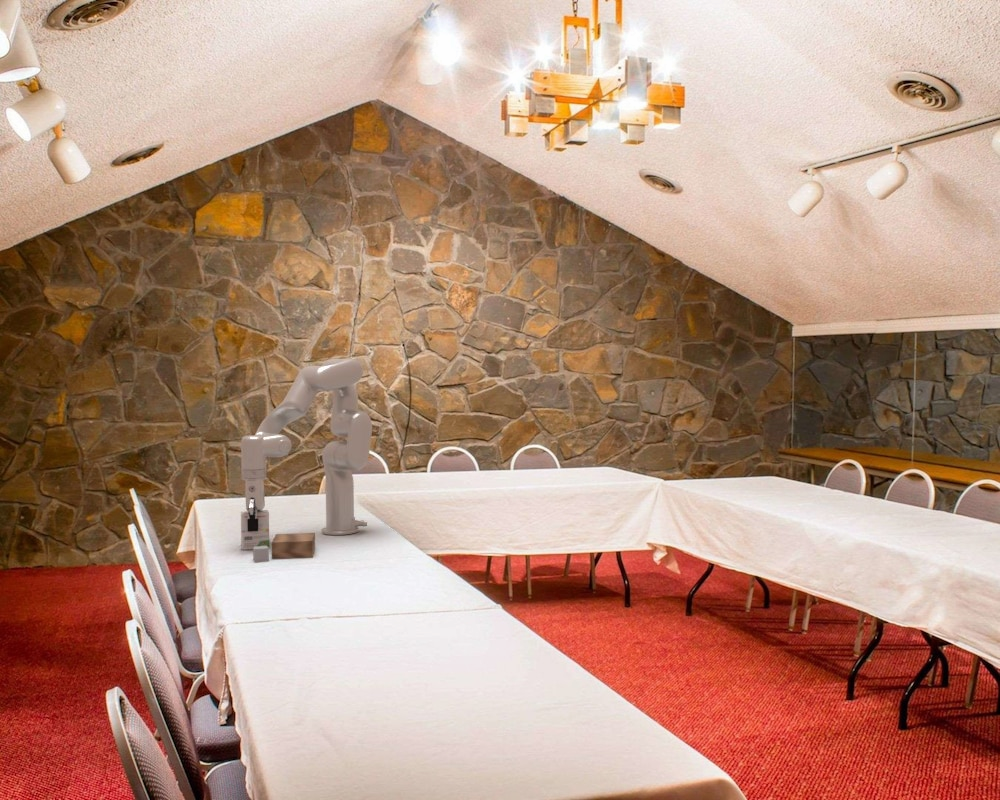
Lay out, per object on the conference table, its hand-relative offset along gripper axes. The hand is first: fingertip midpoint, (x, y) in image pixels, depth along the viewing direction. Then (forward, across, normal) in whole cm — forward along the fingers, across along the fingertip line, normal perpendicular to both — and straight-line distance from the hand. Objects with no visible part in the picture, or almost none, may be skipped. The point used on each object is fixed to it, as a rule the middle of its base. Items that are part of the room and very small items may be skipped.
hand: (254, 528), depth 292 cm
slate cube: (+6, -19, -4) cm, 20 cm away
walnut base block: (+6, -11, -13) cm, 18 cm away
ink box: (+7, 0, 0) cm, 7 cm away
